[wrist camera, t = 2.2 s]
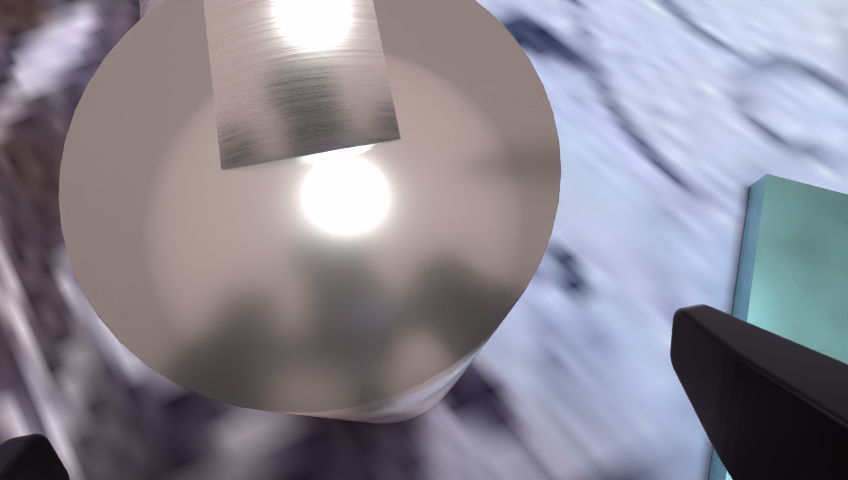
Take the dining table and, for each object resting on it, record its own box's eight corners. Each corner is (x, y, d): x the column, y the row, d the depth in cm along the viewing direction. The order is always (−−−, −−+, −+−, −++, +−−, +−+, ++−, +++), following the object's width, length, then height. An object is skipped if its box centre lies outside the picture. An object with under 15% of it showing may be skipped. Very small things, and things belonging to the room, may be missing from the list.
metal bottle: (483, 405, 18) (628, 351, 5) (313, 439, 18) (52, 465, 5) (433, 172, 20) (454, -253, 8) (281, 199, 20) (40, -198, 7)
